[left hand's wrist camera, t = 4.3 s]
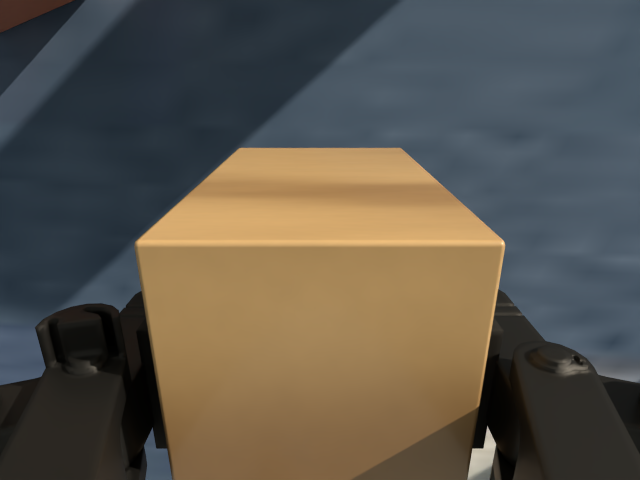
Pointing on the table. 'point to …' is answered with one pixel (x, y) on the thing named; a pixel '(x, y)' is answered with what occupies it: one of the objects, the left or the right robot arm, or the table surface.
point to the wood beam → (319, 319)
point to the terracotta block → (25, 10)
